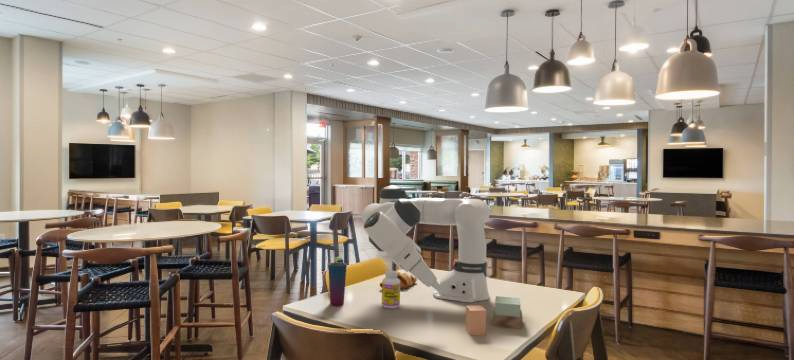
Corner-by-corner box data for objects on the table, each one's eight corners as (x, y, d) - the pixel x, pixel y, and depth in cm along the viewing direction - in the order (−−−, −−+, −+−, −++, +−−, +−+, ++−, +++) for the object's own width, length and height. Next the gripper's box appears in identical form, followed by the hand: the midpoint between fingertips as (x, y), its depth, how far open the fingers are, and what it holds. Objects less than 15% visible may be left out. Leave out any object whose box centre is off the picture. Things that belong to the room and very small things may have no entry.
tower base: (493, 327, 146) (493, 315, 145) (494, 318, 154) (494, 307, 154) (522, 330, 143) (522, 317, 143) (521, 321, 152) (521, 309, 152)
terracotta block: (469, 334, 138) (470, 310, 137) (465, 329, 143) (466, 305, 142) (485, 334, 138) (486, 310, 138) (480, 328, 143) (481, 305, 143)
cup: (328, 301, 170) (328, 262, 170) (346, 301, 171) (346, 262, 170) (327, 306, 163) (327, 265, 163) (345, 306, 164) (346, 265, 164)
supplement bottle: (381, 308, 162) (382, 273, 162) (382, 303, 169) (382, 269, 168) (399, 309, 162) (400, 273, 162) (399, 303, 169) (400, 269, 168)
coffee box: (333, 286, 192) (334, 256, 191) (340, 286, 192) (341, 256, 192) (336, 291, 184) (336, 260, 184) (343, 291, 185) (343, 259, 184)
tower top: (494, 314, 146) (495, 302, 146) (495, 307, 154) (495, 296, 153) (520, 317, 144) (520, 304, 144) (519, 309, 152) (519, 298, 151)
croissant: (411, 289, 203) (406, 272, 206) (426, 282, 197) (420, 265, 199) (376, 296, 188) (370, 278, 191) (390, 290, 182) (385, 271, 185)
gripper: (395, 256, 147) (424, 285, 149) (404, 269, 127) (437, 303, 128) (409, 242, 148) (438, 271, 149) (419, 254, 128) (452, 287, 129)
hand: (437, 286), depth 139 cm, fingers open, 8 cm apart
